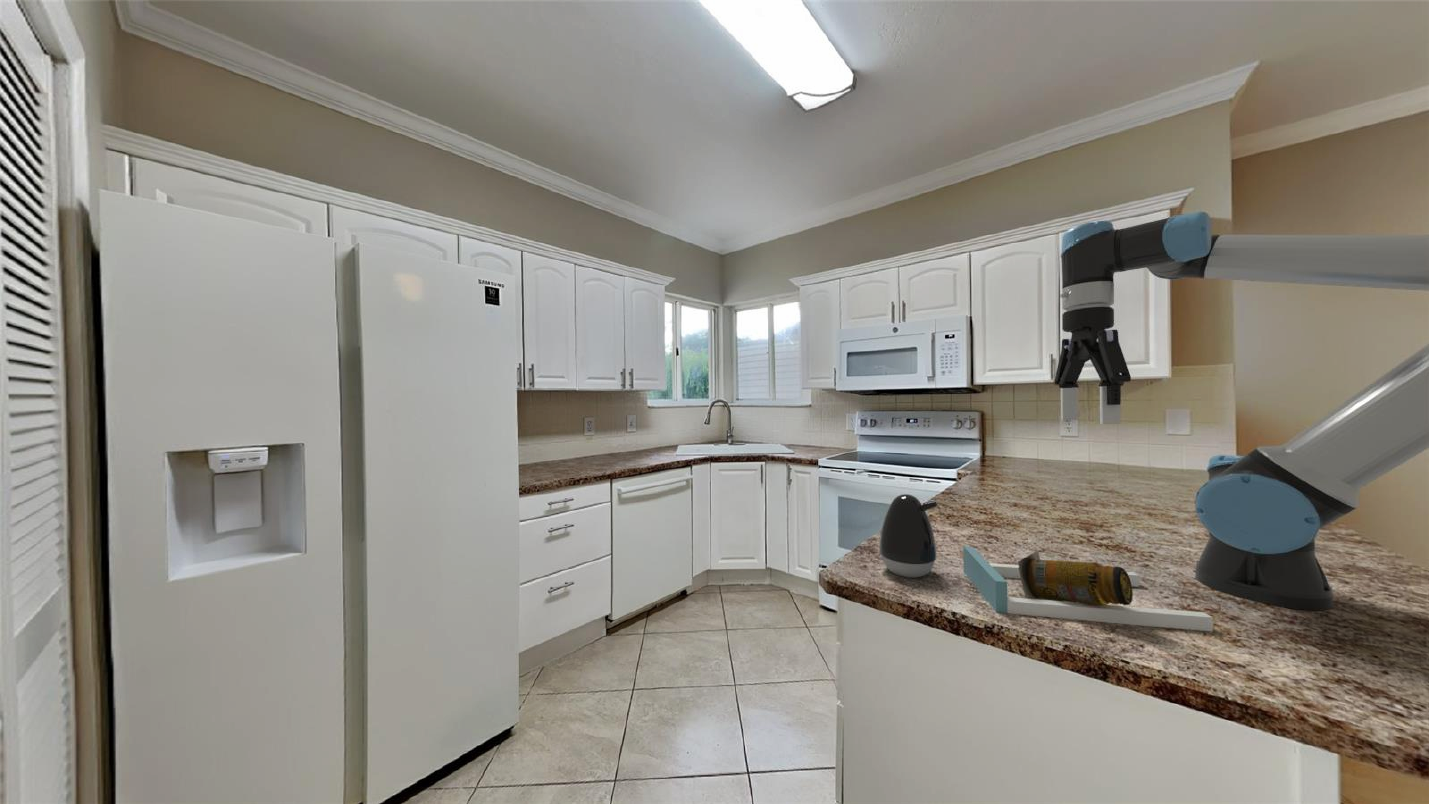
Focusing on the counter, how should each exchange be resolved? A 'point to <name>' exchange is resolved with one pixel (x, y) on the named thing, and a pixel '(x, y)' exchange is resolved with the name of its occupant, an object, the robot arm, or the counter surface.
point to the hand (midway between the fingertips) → (1088, 422)
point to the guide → (995, 593)
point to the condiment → (1074, 581)
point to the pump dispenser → (908, 537)
